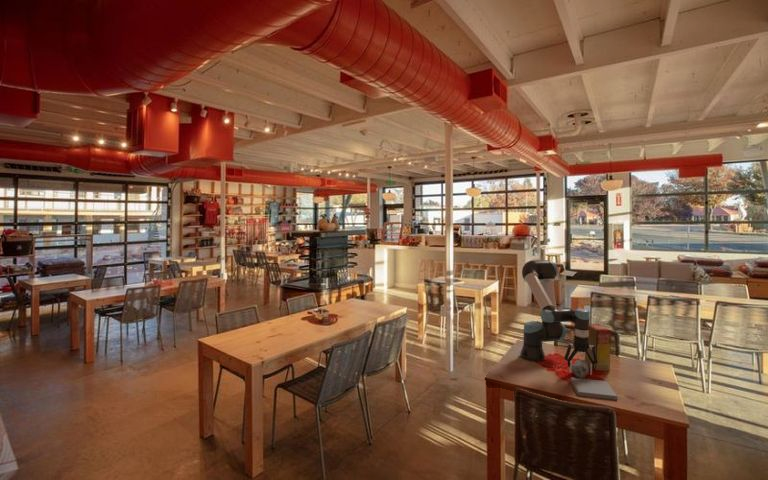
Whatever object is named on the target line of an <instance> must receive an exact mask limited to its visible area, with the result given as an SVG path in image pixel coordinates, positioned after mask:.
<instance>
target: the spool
mask: <svg viewBox="0 0 768 480" xmlns="http://www.w3.org/2000/svg"><path fill="white" fill-rule="evenodd" d="M588 373H589V365H588V363H587V362H585V360H584V359H577V360H576V361H574V362H573V363H572V374H573V375H575V377H576V378H581V379H585V378H586V377H587V375H588Z"/></svg>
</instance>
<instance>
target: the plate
mask: <svg viewBox="0 0 768 480" xmlns="http://www.w3.org/2000/svg"><path fill="white" fill-rule="evenodd" d="M570 382H571V384H572V387H573V388H574V391H575V392H576V394H577V396H578V397H579V396H580V397H588V398H598V399H606V400H613V401H618V395H617V393H616V392H615V390H613V388H612V386H611V385H610V384H609V382H608V381H607V380H601V379H600V380H598V379H591V378H590V379H589V378H579V377H572V376H571V377H570Z"/></svg>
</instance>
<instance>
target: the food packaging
mask: <svg viewBox="0 0 768 480" xmlns="http://www.w3.org/2000/svg"><path fill="white" fill-rule="evenodd" d="M588 337H589V345H590V346H592V345H593V346H594V347H595V350H594V351H595V354H596V358H597V361H598V363H595V364H594V369H593V370H594V371H609V372H611V371H610V368H611V367H610V366H611V348H612V347H611V346H612V345H611V344H612V330H611V329H609V328H607V327H606V326H604V325H601V324H597V323H596V324H595V323H593V324H592V323H589V336H588ZM587 351H588V353H589V355H590V356H591V358H592V360H594V358H593V354H592V351H591V349H590V348H588V349H587ZM584 361H585V362H587V363H588V365H589V363H590V362H591V361H590V359H589V357H588V356H587V354H586V352H584Z"/></svg>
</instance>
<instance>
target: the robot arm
mask: <svg viewBox="0 0 768 480" xmlns="http://www.w3.org/2000/svg"><path fill="white" fill-rule="evenodd" d="M557 265H558V264H557V263H555V261H553V260H549V259H548V260H547V259H546V260H545V259H544V260H543V259H541V260H529V261H526V263H524V265H523V266H522V269H521V275H522V279H523V280H524V282H525V283H527V285H528V287H529V289H530V291H531V293H532V295H533V297H534V298H535V300H536V302H537V304H538V305H539V308H540V310H541V311H540V319H541V321H538V320H537V321H535V320H532V321H527V322H525V323H524V325H523V330H522V331H523V345H522V348H521V351H520V353H519V354H520V357H521V359H523V360H525V361H528V362H529V361H530V362H537V363H539V362H543V361H545V360H546V355H545V351H544V348H543V343H545V342H546V343H547V342H561V341H563V340H564V339H565V337H566V334H567V328H566V325H565V324H564V323H565V322H568V323H569V322H571V323H573V324H574V333H573V334H574V336H573V343H568V344H567V350H566V353H564V354H565V355H564V357H563V358H564V361H567V367H568V369H569V370H568V371H569V373H570V374H573V372H572V366H573V361H572V360H573V359H574V357H575V355H576V354H577V353H578V352H579V353H585V352H586V354H587V356H588V357H589V359H590V361H591V362H590V363H589V371H588V373H589V375H590V376H592V375H593V370H594V364H595V363H598V361H597V358H596V354H595V351H594V350H595V347H594V346H593V345H592V346H590V345H589V337H588V336H589V324H590V319H591V317H590V311H589V309H585V308H576V309H573V308H570V307H566V306H565V307H563V308H561V309H560V308H559V309H557V303H556V302H557V301H556V294H555V286H554V285H555V284H554V281H556V277H557V276H558V274H559V268H558V266H557ZM562 322H564V323H562ZM573 347H574V349H573V351H572V352H571V350H572V348H573ZM588 348H590V349H591V351H592V354H593V358H594V360H592V358H591V356H590V355H589V353H588V351H587V349H588Z"/></svg>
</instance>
